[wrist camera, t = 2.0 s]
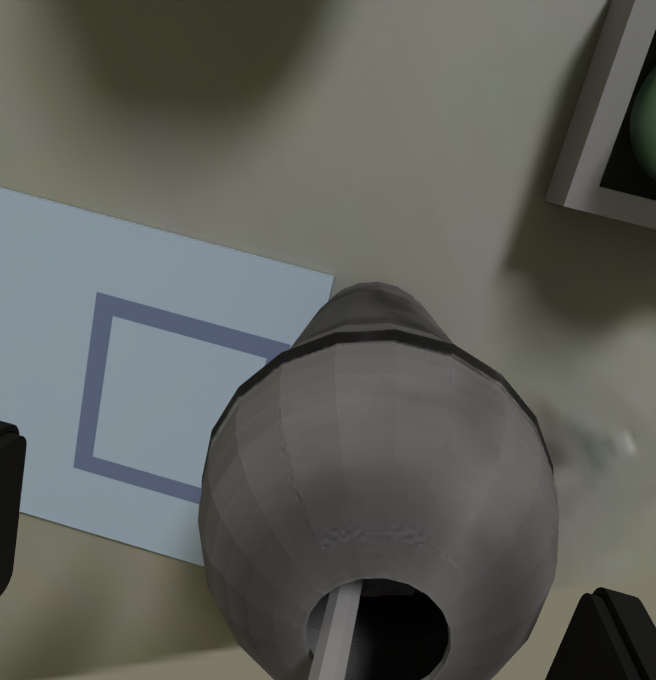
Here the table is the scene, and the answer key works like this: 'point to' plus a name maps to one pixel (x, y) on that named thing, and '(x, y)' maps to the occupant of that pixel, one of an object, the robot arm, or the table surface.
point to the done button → (645, 125)
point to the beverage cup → (378, 503)
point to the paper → (130, 362)
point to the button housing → (606, 118)
